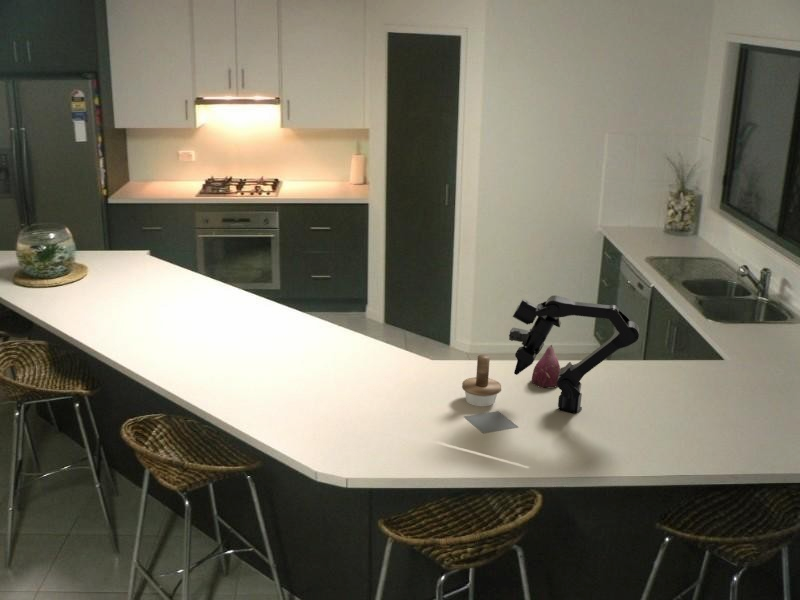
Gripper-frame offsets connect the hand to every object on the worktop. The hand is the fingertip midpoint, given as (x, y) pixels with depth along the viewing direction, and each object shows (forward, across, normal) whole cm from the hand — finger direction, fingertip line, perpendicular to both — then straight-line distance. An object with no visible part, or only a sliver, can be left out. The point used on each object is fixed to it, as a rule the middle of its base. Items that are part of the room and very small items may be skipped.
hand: (518, 369), depth 334 cm
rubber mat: (+14, +18, +1) cm, 23 cm away
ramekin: (+16, +3, -6) cm, 17 cm away
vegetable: (+8, -23, +10) cm, 26 cm away
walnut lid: (+11, +3, -8) cm, 14 cm away
